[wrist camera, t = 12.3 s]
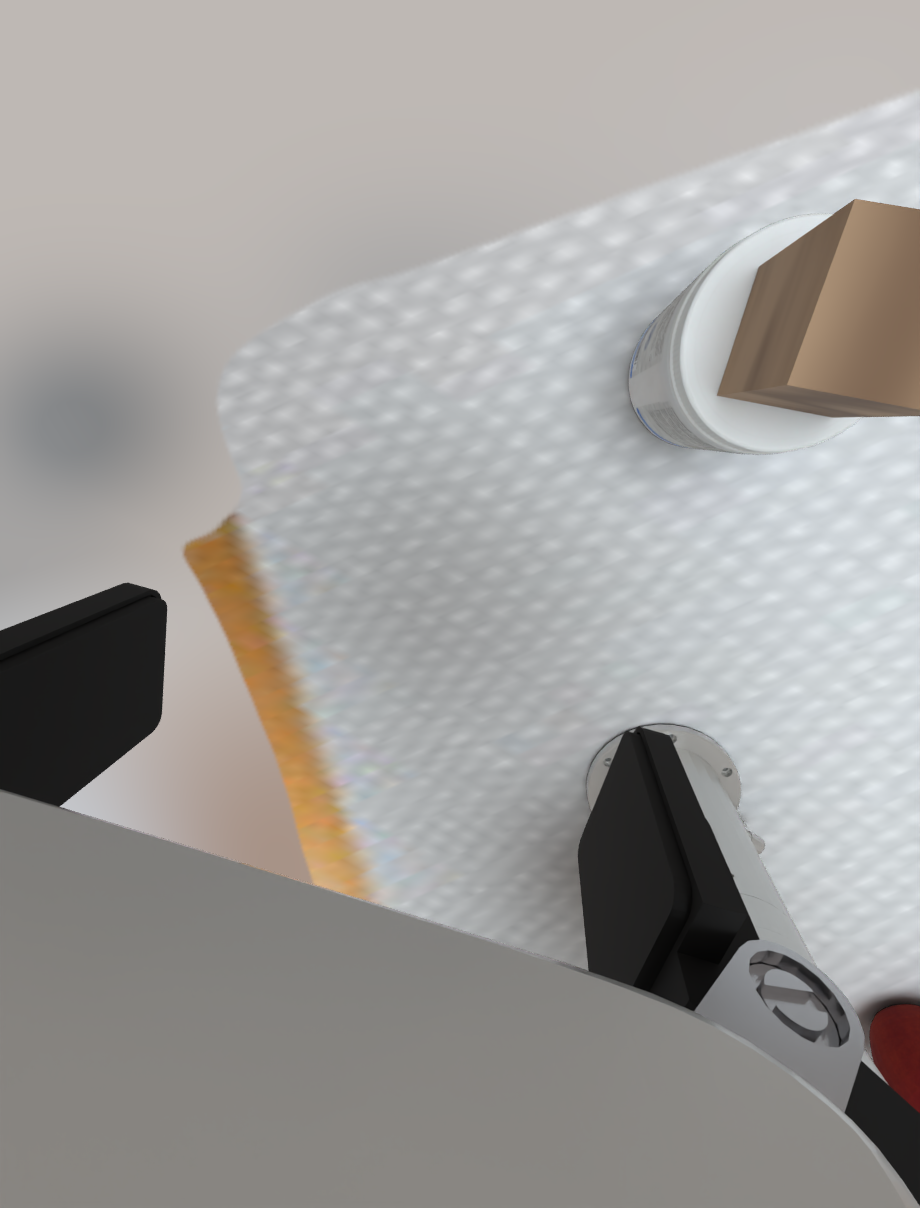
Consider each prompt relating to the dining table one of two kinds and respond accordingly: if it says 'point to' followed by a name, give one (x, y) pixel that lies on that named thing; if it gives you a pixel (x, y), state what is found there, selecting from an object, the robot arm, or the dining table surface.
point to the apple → (898, 1049)
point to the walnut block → (836, 319)
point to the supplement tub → (718, 360)
